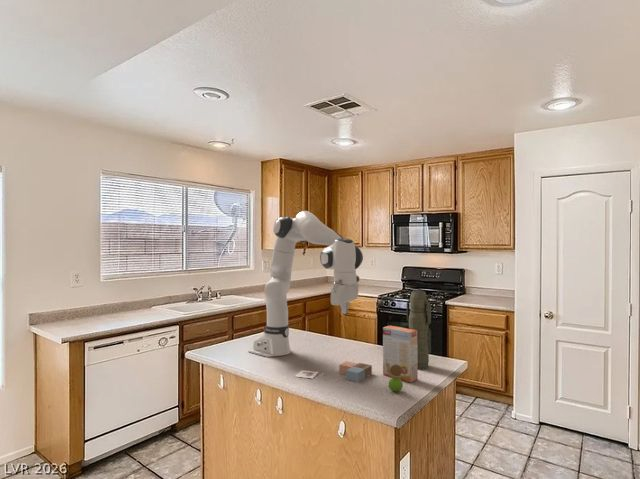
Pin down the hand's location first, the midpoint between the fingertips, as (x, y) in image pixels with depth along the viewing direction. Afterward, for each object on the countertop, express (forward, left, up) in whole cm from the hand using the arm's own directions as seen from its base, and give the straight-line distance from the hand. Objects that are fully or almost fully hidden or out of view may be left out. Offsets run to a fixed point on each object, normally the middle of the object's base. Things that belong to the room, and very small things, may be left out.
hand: (344, 313), depth 155 cm
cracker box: (+17, +20, -29) cm, 39 cm away
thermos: (+21, +38, -29) cm, 52 cm away
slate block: (0, +10, -29) cm, 31 cm away
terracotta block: (-5, +16, -29) cm, 34 cm away
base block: (+1, +16, -29) cm, 33 cm away
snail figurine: (+19, +4, -29) cm, 35 cm away
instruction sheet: (-20, +5, -29) cm, 36 cm away
